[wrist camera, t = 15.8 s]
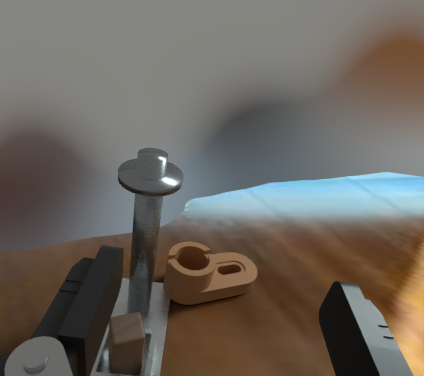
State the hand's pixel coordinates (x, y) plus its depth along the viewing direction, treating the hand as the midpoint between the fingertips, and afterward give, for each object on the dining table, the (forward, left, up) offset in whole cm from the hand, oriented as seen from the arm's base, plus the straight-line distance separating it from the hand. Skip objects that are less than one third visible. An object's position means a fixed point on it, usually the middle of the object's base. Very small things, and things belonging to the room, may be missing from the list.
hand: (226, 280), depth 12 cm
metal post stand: (+6, -22, -36) cm, 42 cm away
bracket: (-6, -34, -36) cm, 50 cm away
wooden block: (+6, -17, -36) cm, 40 cm away
